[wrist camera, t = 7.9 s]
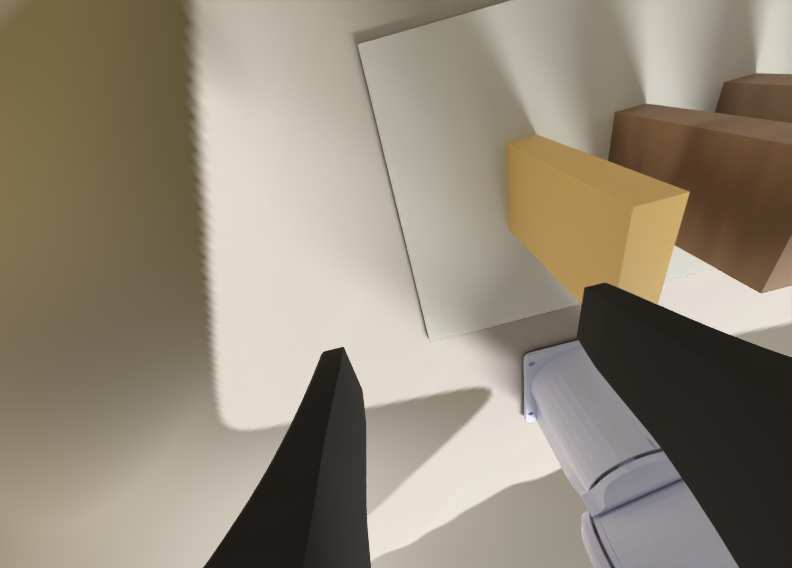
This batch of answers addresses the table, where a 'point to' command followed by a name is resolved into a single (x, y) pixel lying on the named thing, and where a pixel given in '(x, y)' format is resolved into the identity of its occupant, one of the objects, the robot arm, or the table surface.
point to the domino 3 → (758, 97)
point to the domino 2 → (719, 185)
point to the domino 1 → (591, 217)
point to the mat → (536, 123)
